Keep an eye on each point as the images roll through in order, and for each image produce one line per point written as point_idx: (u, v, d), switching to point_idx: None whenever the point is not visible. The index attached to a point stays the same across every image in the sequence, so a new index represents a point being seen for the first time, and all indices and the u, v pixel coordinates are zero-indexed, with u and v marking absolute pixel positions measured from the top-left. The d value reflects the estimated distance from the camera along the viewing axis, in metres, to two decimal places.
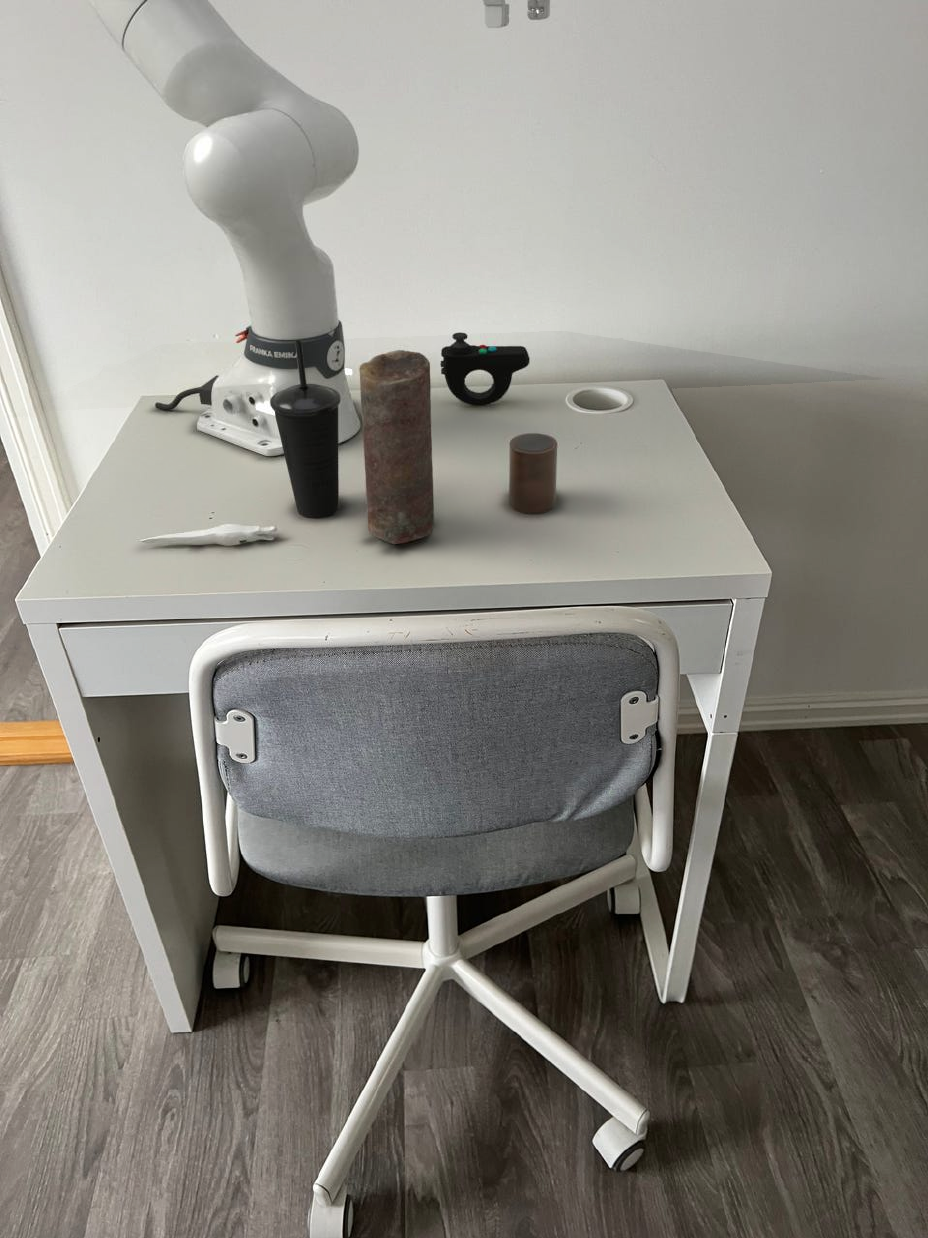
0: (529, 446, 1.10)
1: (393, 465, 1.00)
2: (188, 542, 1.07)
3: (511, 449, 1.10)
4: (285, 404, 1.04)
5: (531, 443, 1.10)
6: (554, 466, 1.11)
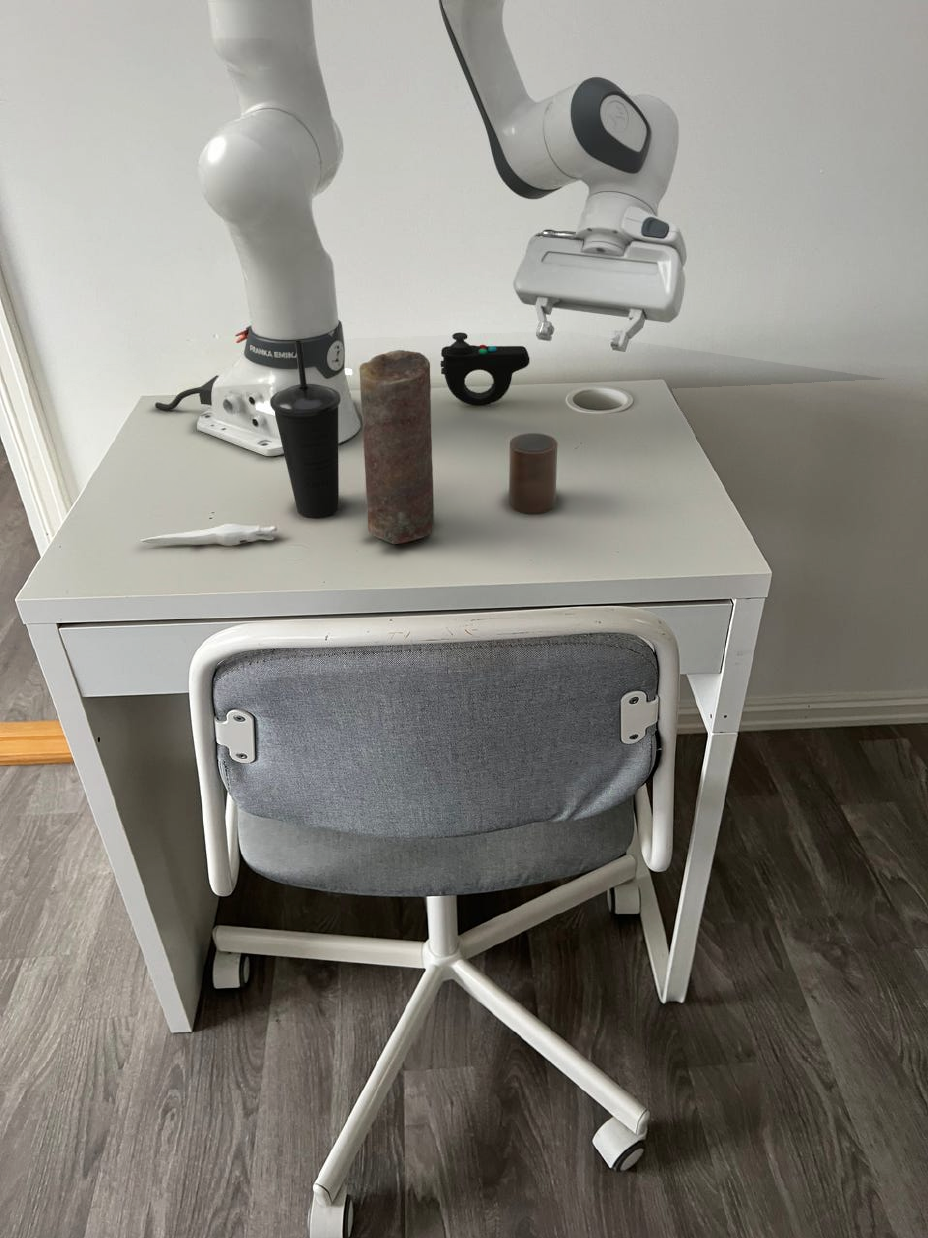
0: (529, 446, 1.10)
1: (393, 465, 1.00)
2: (188, 542, 1.07)
3: (511, 449, 1.10)
4: (285, 404, 1.04)
5: (531, 443, 1.10)
6: (554, 466, 1.11)
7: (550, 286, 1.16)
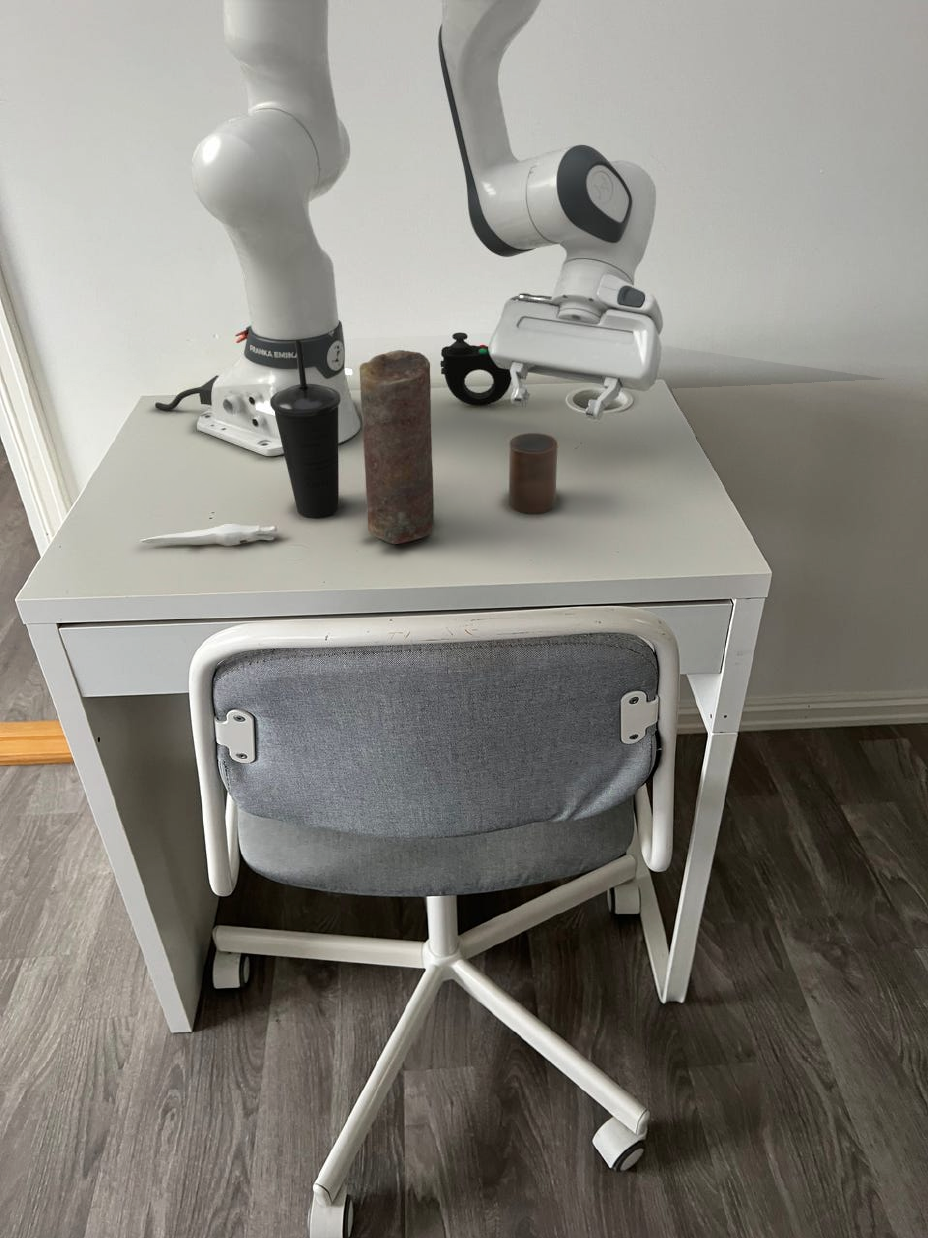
0: (529, 446, 1.10)
1: (393, 465, 1.00)
2: (188, 542, 1.07)
3: (511, 449, 1.10)
4: (285, 404, 1.04)
5: (531, 443, 1.10)
6: (554, 466, 1.11)
7: (525, 352, 1.14)
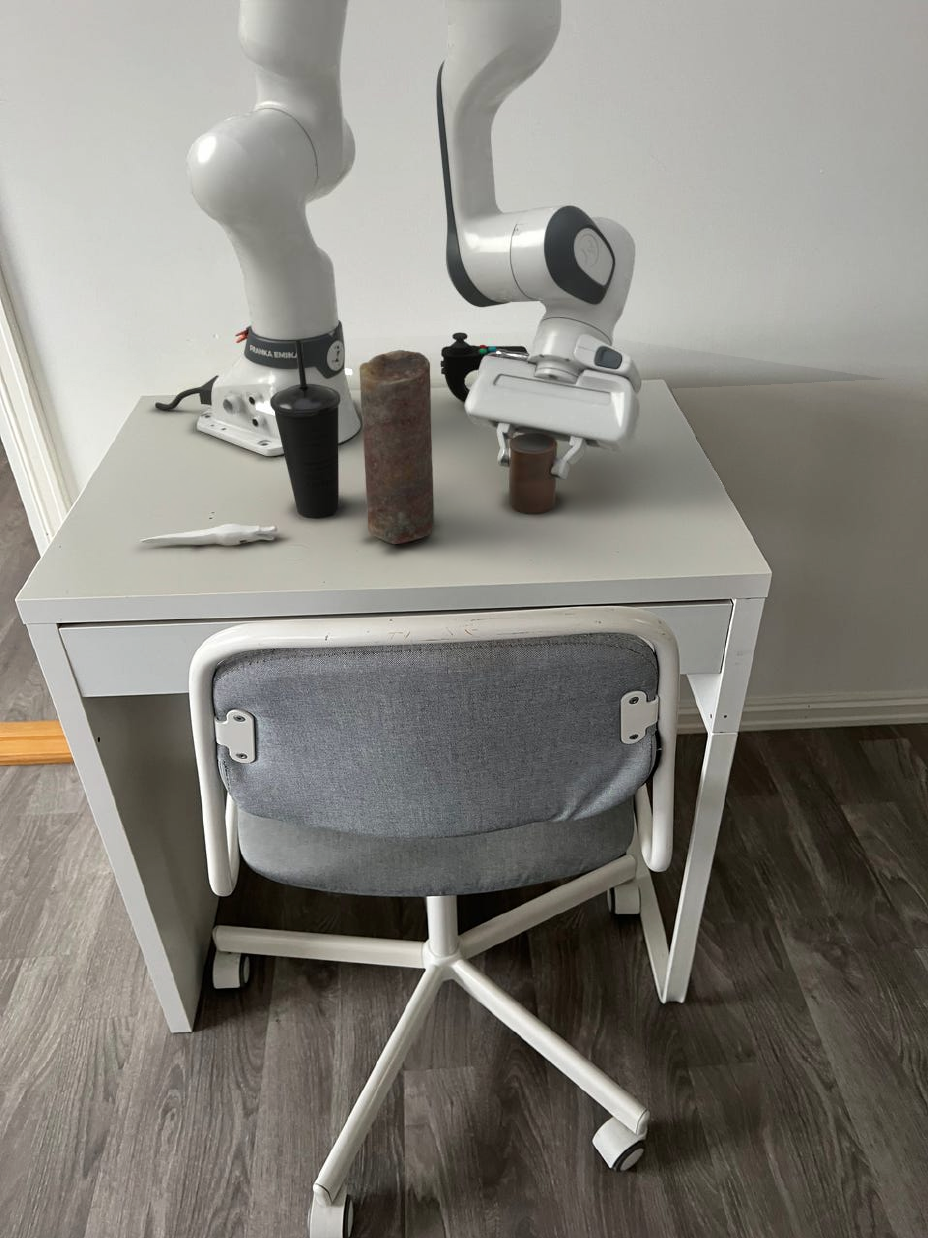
0: (529, 446, 1.10)
1: (393, 465, 1.00)
2: (188, 542, 1.07)
3: (511, 449, 1.10)
4: (285, 404, 1.04)
5: (531, 443, 1.10)
6: None
7: (501, 411, 1.13)
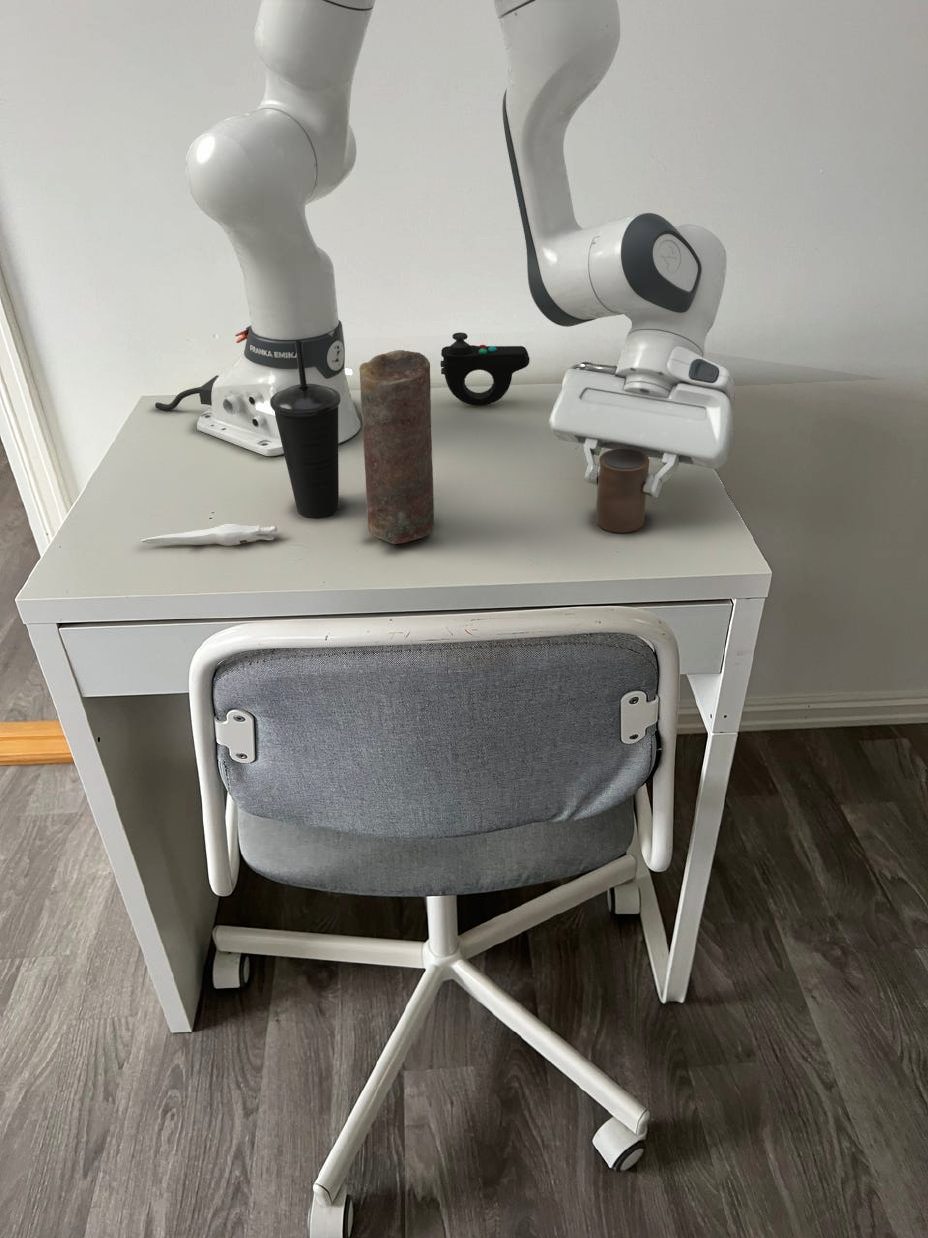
0: (620, 463, 1.05)
1: (393, 465, 1.00)
2: (188, 542, 1.07)
3: (601, 466, 1.06)
4: (285, 404, 1.04)
5: (622, 459, 1.06)
6: None
7: (589, 427, 1.08)
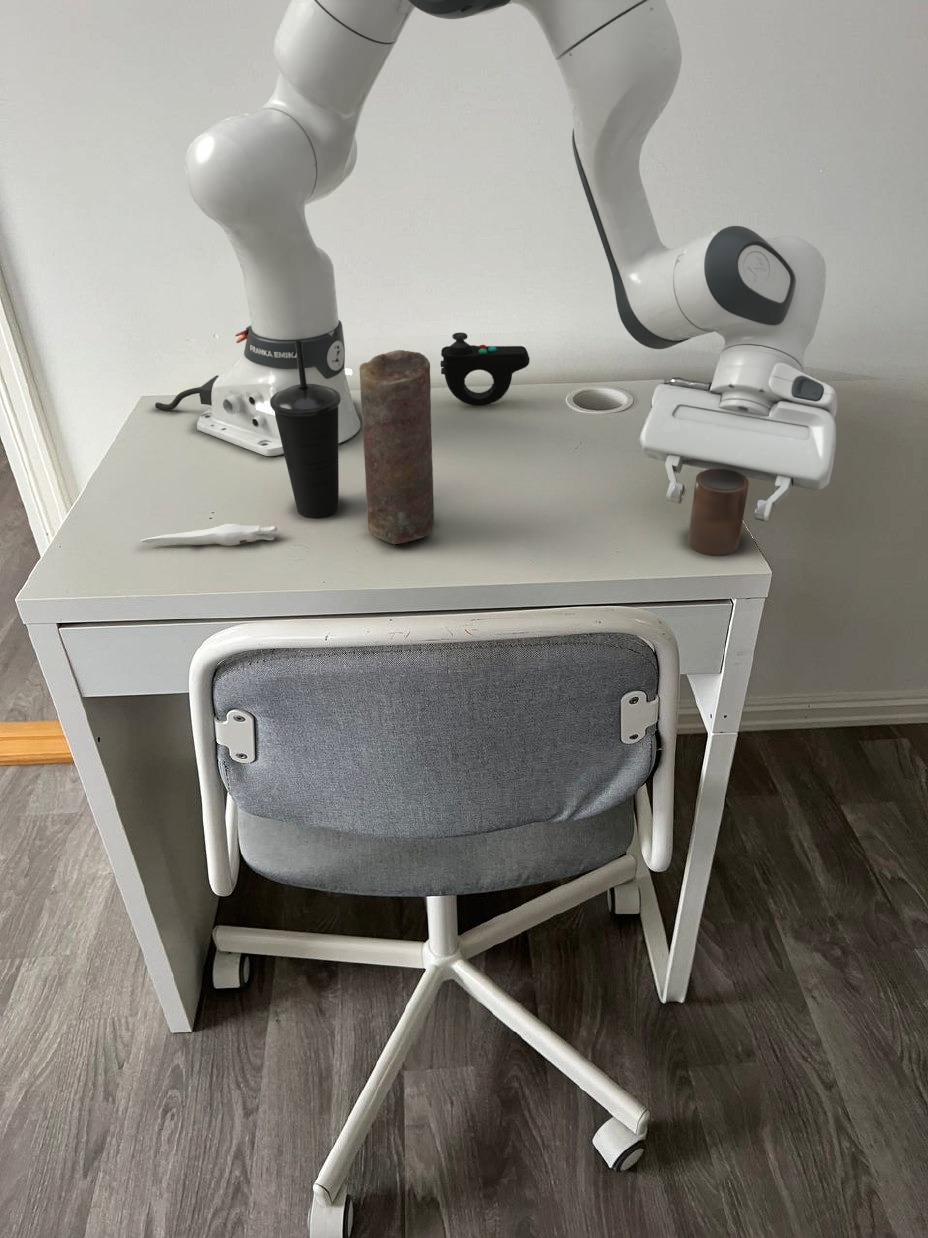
0: (719, 483, 1.01)
1: (393, 465, 1.00)
2: (188, 542, 1.07)
3: (699, 487, 1.01)
4: (285, 404, 1.04)
5: (720, 480, 1.02)
6: (744, 505, 1.02)
7: (683, 445, 1.04)
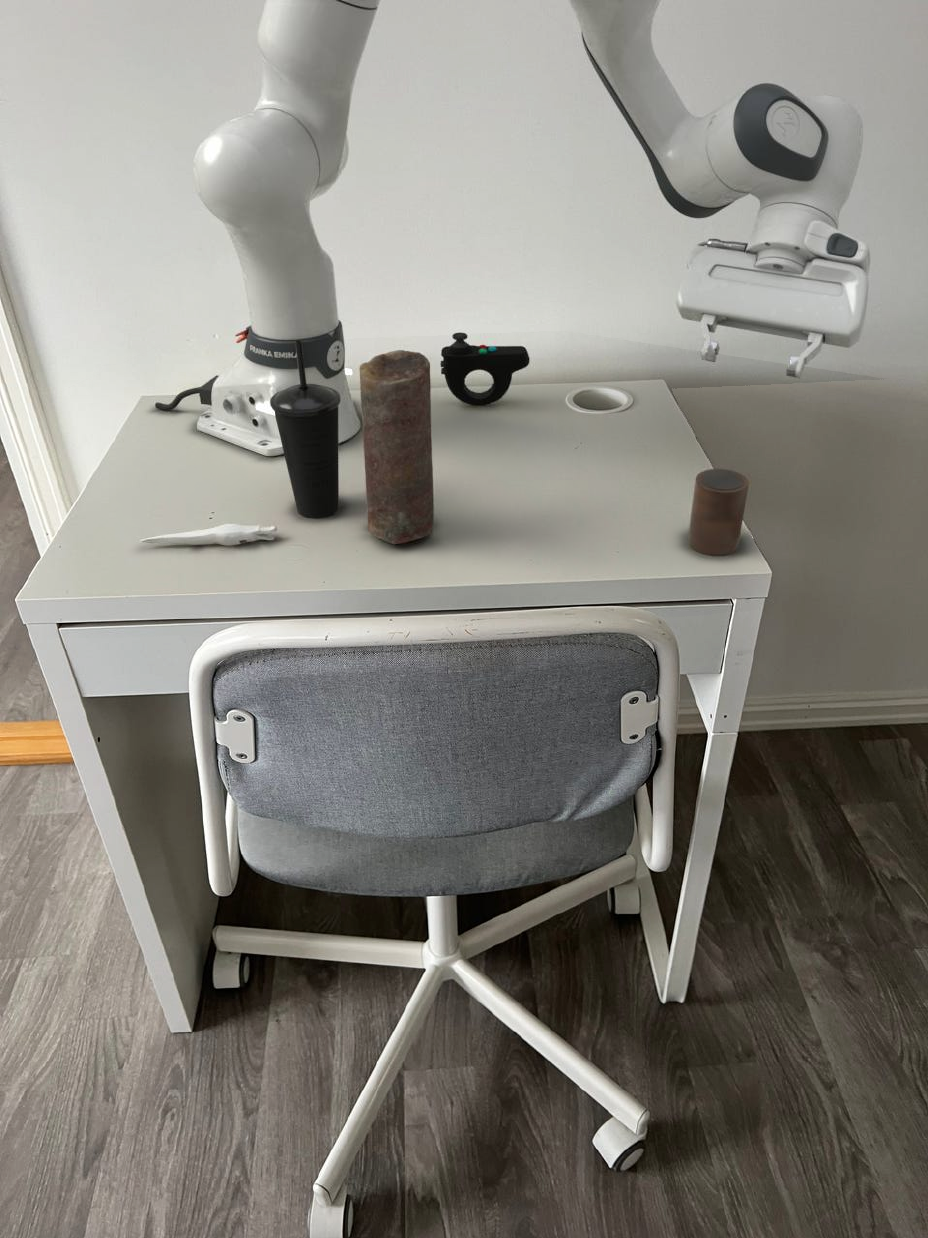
0: (719, 483, 1.01)
1: (393, 465, 1.00)
2: (188, 542, 1.07)
3: (699, 487, 1.01)
4: (285, 404, 1.04)
5: (720, 480, 1.02)
6: (744, 505, 1.02)
7: (719, 304, 1.08)
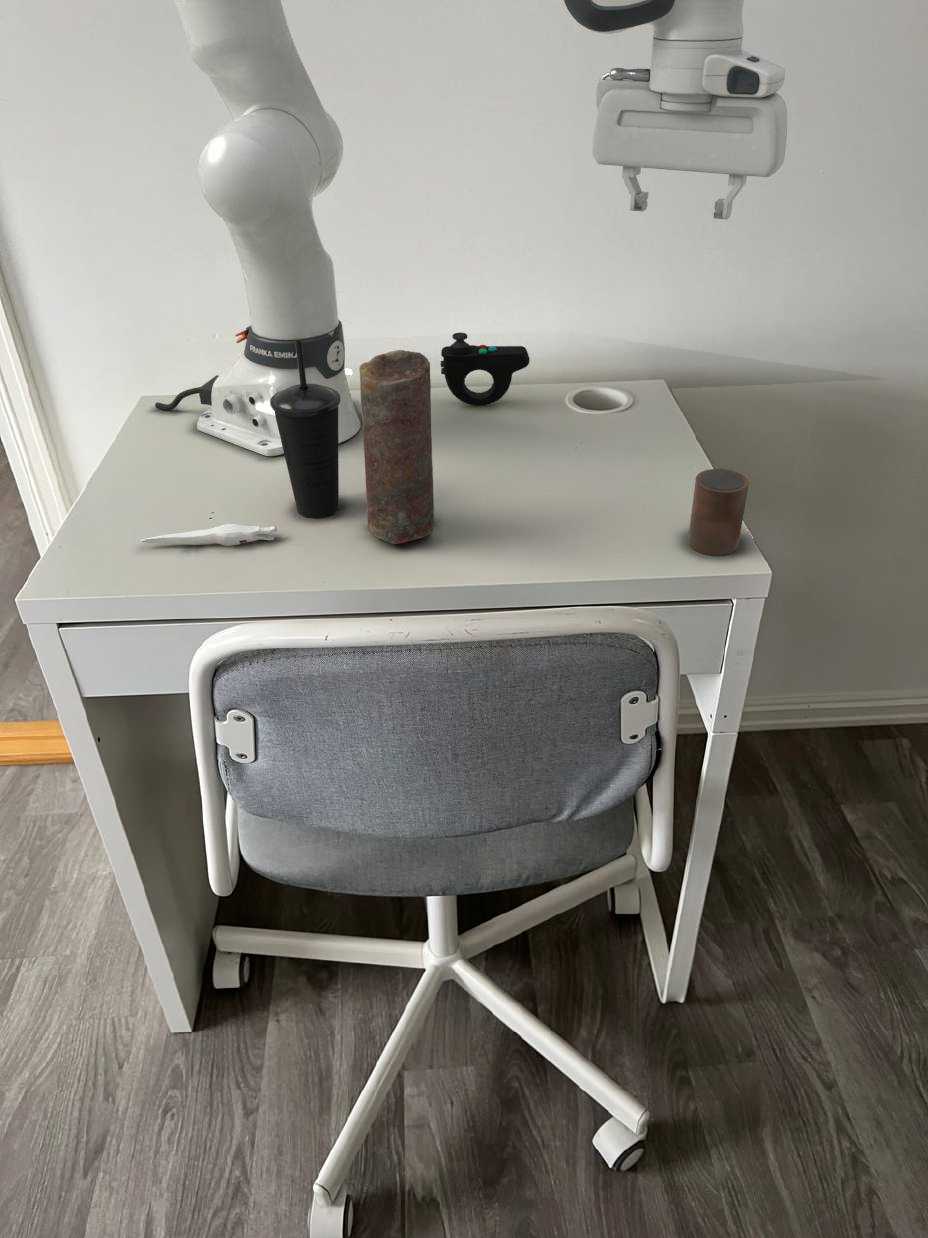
0: (719, 483, 1.01)
1: (393, 465, 1.00)
2: (188, 542, 1.07)
3: (699, 487, 1.01)
4: (285, 404, 1.04)
5: (720, 480, 1.02)
6: (744, 505, 1.02)
7: (634, 158, 1.05)
